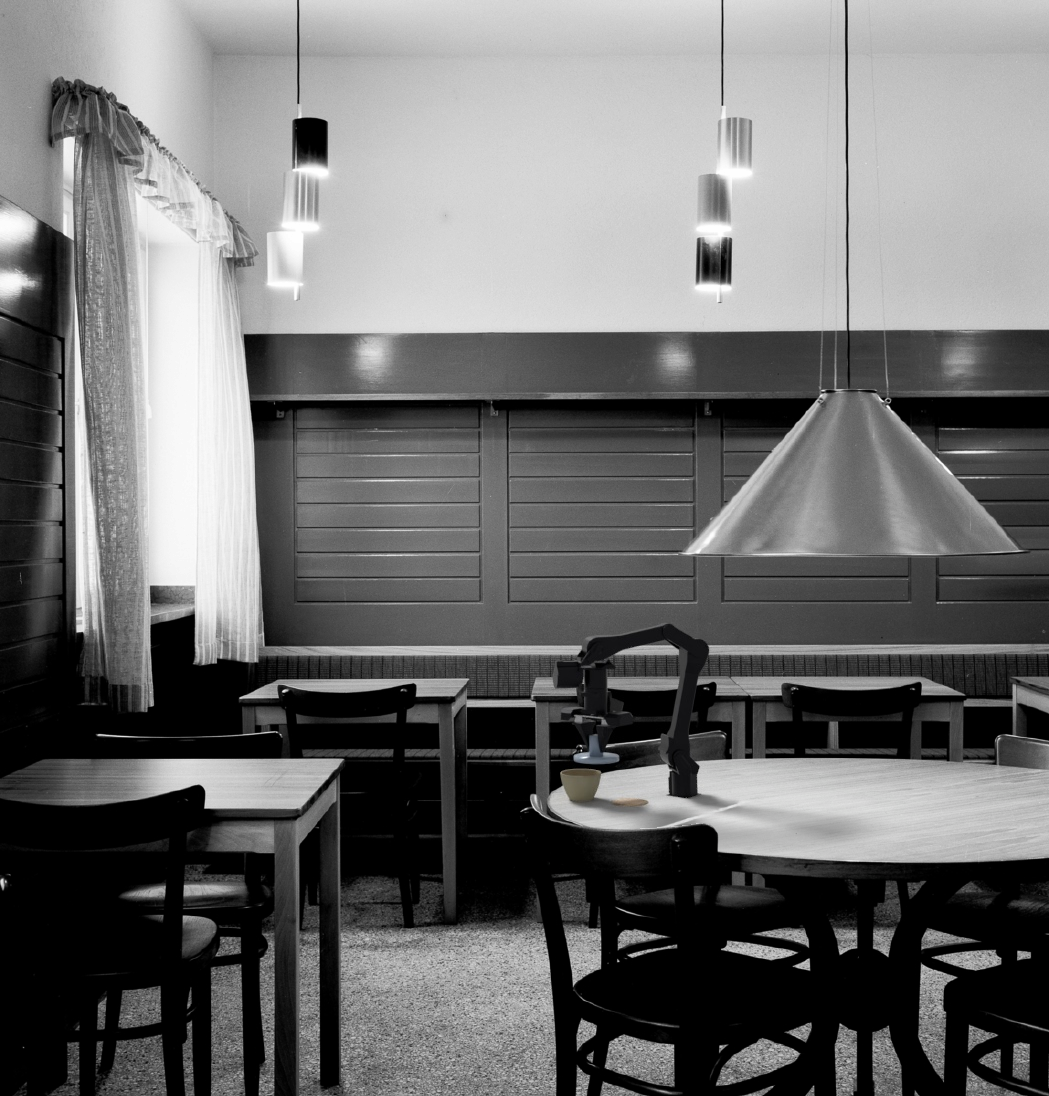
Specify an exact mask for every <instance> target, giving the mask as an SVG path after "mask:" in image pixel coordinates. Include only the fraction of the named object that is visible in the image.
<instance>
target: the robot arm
mask: <svg viewBox="0 0 1049 1096" xmlns="http://www.w3.org/2000/svg"><path fill="white" fill-rule="evenodd" d="M661 641H666V642H667V643H668V644H669V645H671V646H672V647H673V648H675V649H677V651H678V662H679V663H678V664H679V669H680V670H679V672H680V675H679V680H678V685H677V691H676V695H675V701H674V705H673V706H674V707H673V713H672V718H671V724H670V727H669V730H668V731H667V733H666V734H664V733H661V734H660V743H659V746H658V748H657V750H658V751H659V755H660V758H661V760H662V761H663V762H664V763H666V764H667V767H668V769H669V770H670V771H668V772H669V773H668V774H669V775H668V778H667V779H668V781H667V782H668V794H666V796H668V797H673V798H680V799H691V798H693V797H697V796H700V795H702V793H699V791H698V773H699V771H700V768H701V766H700V765H699V763H697V762H696V761H695V760H694V759H693V758H692V757H691V740H690V734H689V731H690V725H691V719H692V714H693V709H694V708H693V707H694V703H695V697H696V692H697V686H698V681H699V676H700V674H701V673H702V671H703V669H704V668H705V665H706V663H707V661H708V657H709V654H710V646H709V644H708V643H707V642H706V641H705V640H704V639H701V638H697V637H693V636H691V635H690V634H687V633H686V632H684V631H682V630H680V629H679V628H677V627H676V626H675V625H674V624H672V623H669V622H661V623H660V624H658V625H653V626H649V627H645V628H640V629H636V630H632V631H627V632H624V633H620V634H619V633H618V634H599V635H589V636H587V637H585V638H584V639H583V641H582V644H581V649H580V650H579V652H578V654H577V655H576V656H575V657H574V659H573V660H555V661H554V666H553V673H552V685H553V687H554V689H555V690H559V689H560V690H562V689H578V688H579V687H580V686H582V684H583V691H580V697H584V698H583V701H584V702H583V703H584V704H583V706H584V707H582V706H581V707H579V706H570V707H563V708H562V709H561V710H560V721H567V722H569V721H571V720H572V719H573V718H574V722H572V725H574V726H575V727H576V729H577V731H578V733H579V734H580V736H581V739H582V740H583V742H584V745H585V746H586V749H587V752H589V735H592V734H594V727H596V729H595V730H596V734H597V736H598V743H599V749H600V752H601V753H604V752H605V751H606V749H607V745H608V742H609V739H610V737H611V734H612V732H613V731H614V730H615V728H616V727H624V726H630V725H633V724H634V716H633V715H632V713H631V712H629V711H623V708H624V704H625V703H624V702H623V701H621V700H618V699H616V698H614V697H613V696H612V691H608V688H609V687H608V670H615V669H617V667H616V665H614V664H613V663H612V661H611V659H609V658H610V657H613V656H615V655H616V654H618V653H619V652H622V651H624V650H628V649H633V648H637V647H640V646H641V647H642V646H645V645H649V644H653V643H657V642H661ZM603 660H604V661H603ZM597 721H600V722H601V724H597V725H596V722H597Z"/></svg>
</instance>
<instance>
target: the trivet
mask: <svg viewBox="0 0 1049 1096" xmlns="http://www.w3.org/2000/svg"><path fill="white" fill-rule="evenodd" d="M649 802H650V801H648V800H646V799H643V798H635V797H633V798H631V797H630V798H619V799H614V800H612V801H610V803H611V805H613V806H618V807H634V808H635V807H641V806H647V805H648V804H649Z"/></svg>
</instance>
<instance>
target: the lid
mask: <svg viewBox="0 0 1049 1096" xmlns="http://www.w3.org/2000/svg"><path fill="white" fill-rule="evenodd" d="M573 761H574V762H575V763H579V764H587V765H588V764H590V765H605V764H615V763H618V762H619V761H620V755H619V754H617V753H613V752H605V751H604V753H601V752H600V749H599V743H598V736H597V733H595V734H594V733H593V734H592V735H589V751H587V752H580V753H576V754H574V755H573Z"/></svg>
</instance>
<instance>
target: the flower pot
mask: <svg viewBox="0 0 1049 1096" xmlns="http://www.w3.org/2000/svg"><path fill="white" fill-rule="evenodd" d="M601 777H602V772H601V770H596V769H591V768H590V769H589V768H572V769H565V770H562V771H561V772H560V779H561V784H562V786H563V789H564V791H565V794H566V795H567V798H568V799H569V800H570V801H572V802H589V801H592V800H594V798H595V795H596V793H597V792H598V789H599V786H600V782H601Z"/></svg>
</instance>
